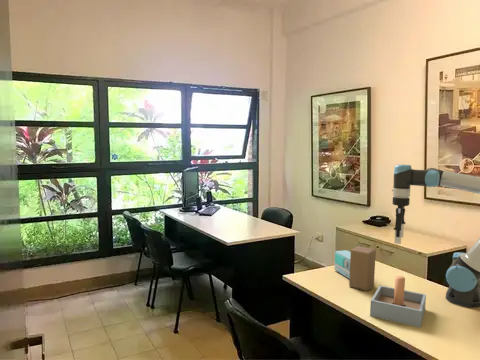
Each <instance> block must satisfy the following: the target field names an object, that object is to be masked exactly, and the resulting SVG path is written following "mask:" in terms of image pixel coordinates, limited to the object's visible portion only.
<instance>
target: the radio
mask: <svg viewBox="0 0 480 360" xmlns="http://www.w3.org/2000/svg"><path fill="white" fill-rule="evenodd" d="M360 245H361V243H359V244H358V246H360ZM350 257H351V251H349V250H346V249H343V250H335V251H334V271H336V272H337V273H339V274H340V275H342V276H344V277H346V278H347V279H348V280H349V279H350Z"/></svg>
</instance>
